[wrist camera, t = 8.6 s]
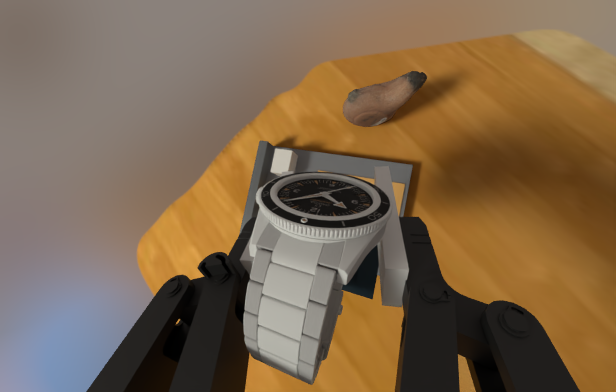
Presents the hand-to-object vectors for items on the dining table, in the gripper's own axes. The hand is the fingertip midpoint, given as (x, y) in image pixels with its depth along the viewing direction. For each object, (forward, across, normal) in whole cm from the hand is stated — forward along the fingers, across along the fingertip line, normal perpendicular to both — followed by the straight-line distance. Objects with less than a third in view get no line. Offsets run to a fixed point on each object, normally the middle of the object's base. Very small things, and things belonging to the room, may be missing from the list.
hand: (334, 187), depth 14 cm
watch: (0, 0, -5) cm, 5 cm away
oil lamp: (+20, +4, -3) cm, 21 cm away
